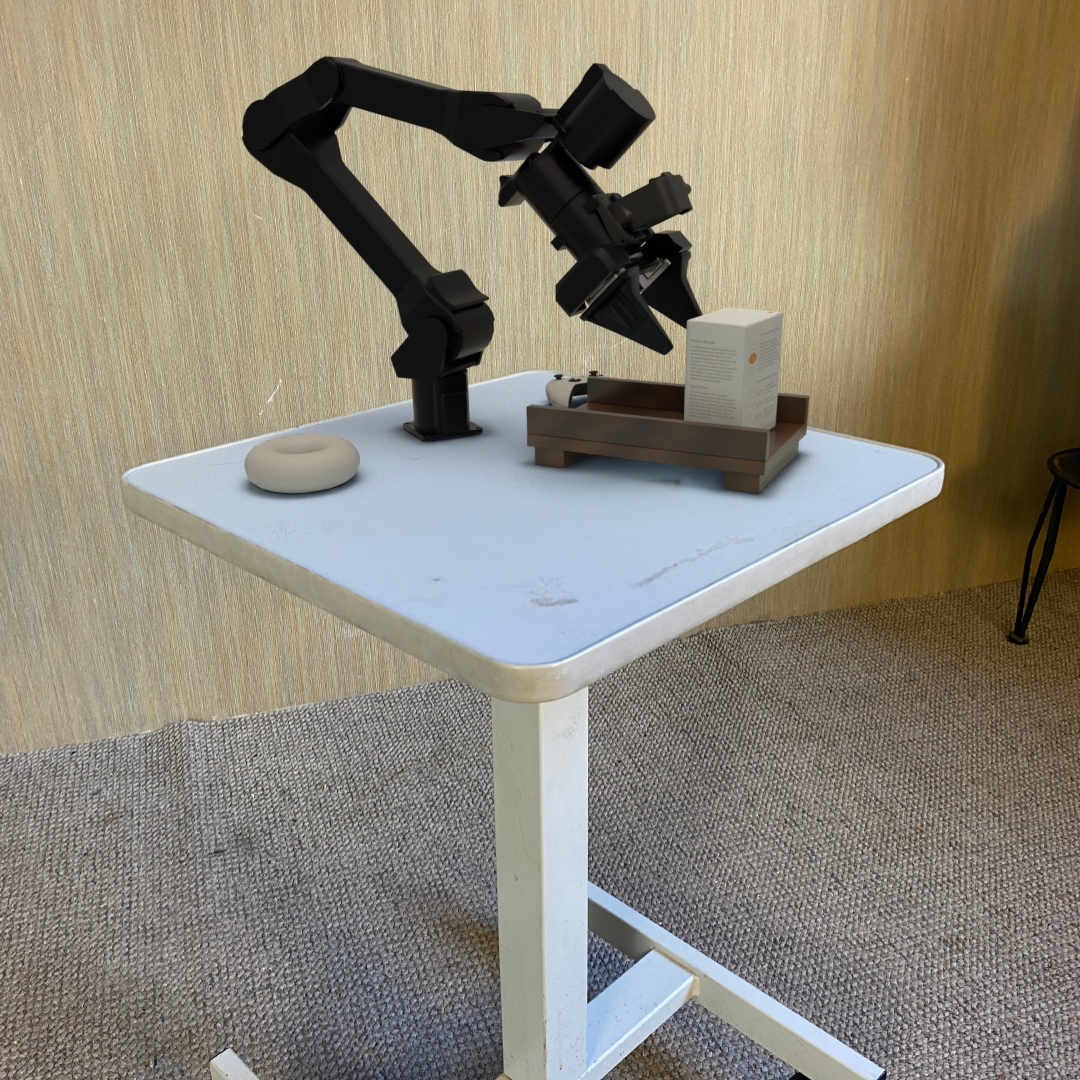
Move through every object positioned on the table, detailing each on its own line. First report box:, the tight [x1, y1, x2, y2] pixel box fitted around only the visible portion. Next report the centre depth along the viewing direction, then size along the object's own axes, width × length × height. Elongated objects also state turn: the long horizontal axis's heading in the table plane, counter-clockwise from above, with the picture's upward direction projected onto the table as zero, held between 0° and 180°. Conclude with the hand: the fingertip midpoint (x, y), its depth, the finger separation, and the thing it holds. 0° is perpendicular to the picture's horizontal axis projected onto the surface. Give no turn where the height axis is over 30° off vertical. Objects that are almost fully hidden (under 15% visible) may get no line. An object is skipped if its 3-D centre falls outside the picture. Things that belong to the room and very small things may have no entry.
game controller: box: [545, 370, 606, 409], centre depth 117 cm, size 10×5×6 cm
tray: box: [525, 376, 810, 495], centre depth 96 cm, size 22×14×6 cm, turn 63°
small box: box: [684, 306, 784, 430], centre depth 91 cm, size 8×6×10 cm
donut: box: [243, 432, 361, 494], centre depth 92 cm, size 10×4×10 cm
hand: (688, 342), depth 92 cm, fingers open, 9 cm apart
